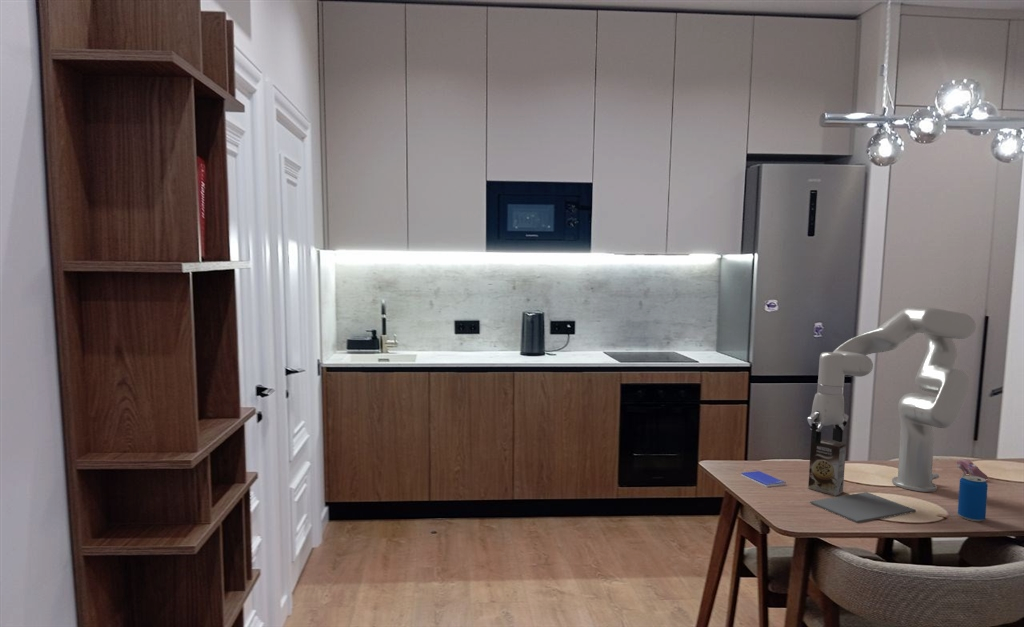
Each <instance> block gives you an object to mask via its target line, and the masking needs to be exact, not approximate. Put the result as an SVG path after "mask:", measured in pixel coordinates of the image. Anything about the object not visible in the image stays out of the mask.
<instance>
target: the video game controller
mask: <svg viewBox="0 0 1024 627" xmlns="http://www.w3.org/2000/svg"><path fill="white" fill-rule="evenodd" d="M956 466H957V468H959V469H960V470H961V471H962V472H963V474H964V473H966V474H969V475H972V476H978V477H981V478H984V479H988V480H989V477H988V475H987V474H986V473H984V472H983V471H982V470H981V469H980V468H979V467H978V466H977V465H976V464H974V462H972V461H970V460H967V459H961V460H957V462H956Z"/></svg>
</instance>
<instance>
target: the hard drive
mask: <svg viewBox="0 0 1024 627" xmlns="http://www.w3.org/2000/svg"><path fill="white" fill-rule="evenodd" d="M741 477H744V478H746V479H748V480H750V481H753V482H754V483H756V484H758V485H760V486H763V487H765V488H771V487H779V486H786V485H787V482H786V481H784V480H781V479H779V478H776V477H775V476H771V475H770V474H768V473H765V472H762V471H759V470H758V471H757V470H756V471H755V470H754V471H746V472H745V471H744V472H741Z"/></svg>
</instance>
